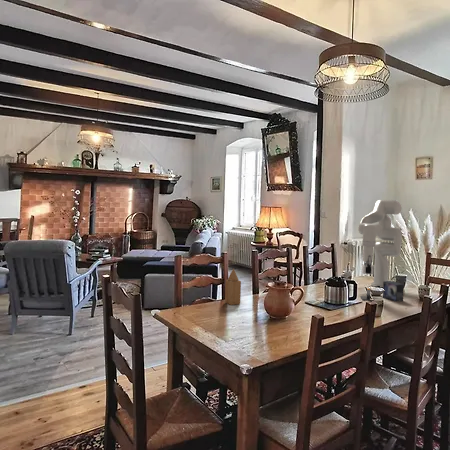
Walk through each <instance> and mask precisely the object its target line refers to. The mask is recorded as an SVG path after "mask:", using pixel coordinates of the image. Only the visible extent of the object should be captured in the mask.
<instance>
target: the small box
mask: <svg viewBox="0 0 450 450" xmlns="http://www.w3.org/2000/svg"><path fill="white" fill-rule="evenodd" d="M404 286H405V284H404V283H402V282H401V283H400V282H398V281H394V280H388V281H384V282H383V288H382V290H383V289H384V290H385V291H384V292H383V291H382V298H384V299H386V300H390V301H392V302H397V303H398V302H402V301H404Z"/></svg>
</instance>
